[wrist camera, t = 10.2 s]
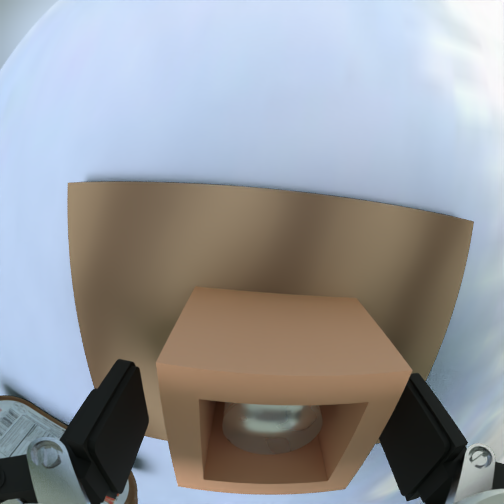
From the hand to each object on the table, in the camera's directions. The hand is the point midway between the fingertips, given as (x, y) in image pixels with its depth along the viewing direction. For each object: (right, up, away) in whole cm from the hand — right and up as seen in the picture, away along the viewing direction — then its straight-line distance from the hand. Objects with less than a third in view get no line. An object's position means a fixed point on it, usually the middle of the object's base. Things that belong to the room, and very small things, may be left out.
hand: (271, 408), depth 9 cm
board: (0, +1, +4) cm, 4 cm away
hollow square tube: (0, +1, +3) cm, 3 cm away
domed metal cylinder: (0, +1, +3) cm, 3 cm away
